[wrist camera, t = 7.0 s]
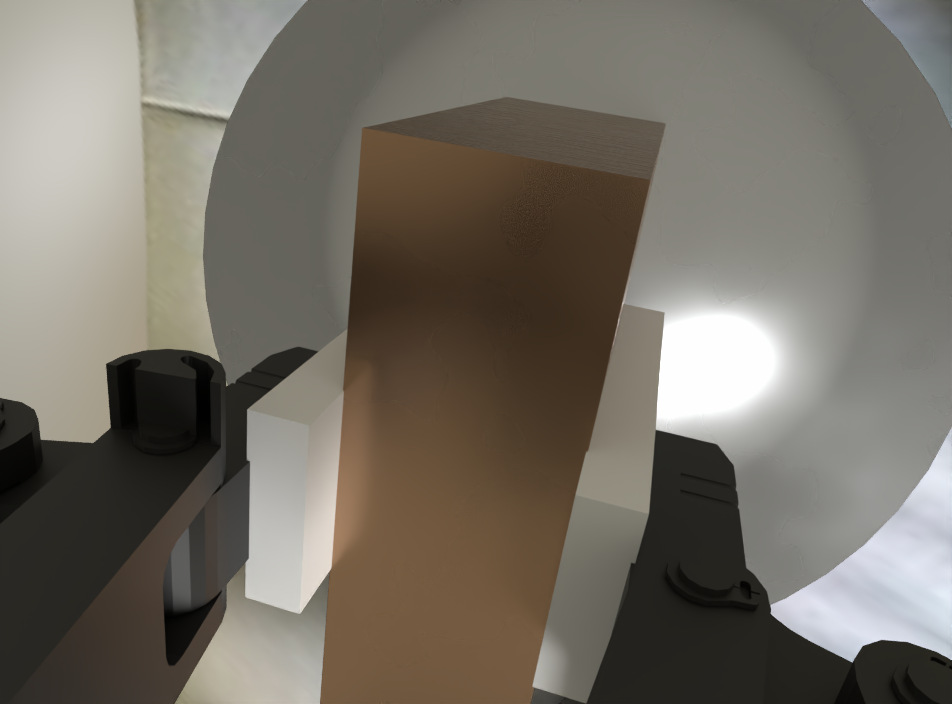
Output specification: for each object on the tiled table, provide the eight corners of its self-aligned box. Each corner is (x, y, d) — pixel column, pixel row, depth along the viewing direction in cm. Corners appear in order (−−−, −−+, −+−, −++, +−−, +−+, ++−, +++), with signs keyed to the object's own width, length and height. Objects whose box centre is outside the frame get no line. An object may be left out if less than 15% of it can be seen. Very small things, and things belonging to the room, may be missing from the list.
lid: (810, 683, 18) (896, 1104, 11) (230, 513, 21) (-12, 756, 14) (1123, -39, 12) (1830, -195, 5) (234, -140, 15) (-210, -336, 7)
